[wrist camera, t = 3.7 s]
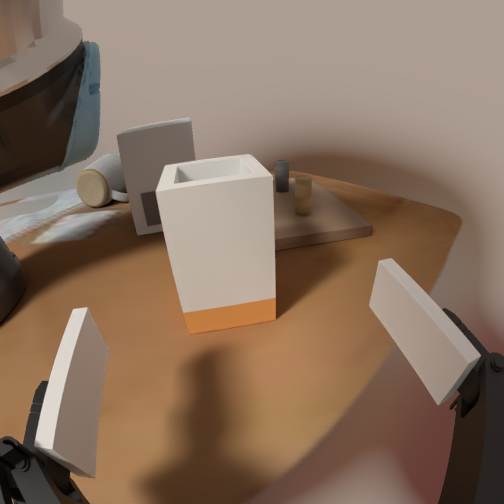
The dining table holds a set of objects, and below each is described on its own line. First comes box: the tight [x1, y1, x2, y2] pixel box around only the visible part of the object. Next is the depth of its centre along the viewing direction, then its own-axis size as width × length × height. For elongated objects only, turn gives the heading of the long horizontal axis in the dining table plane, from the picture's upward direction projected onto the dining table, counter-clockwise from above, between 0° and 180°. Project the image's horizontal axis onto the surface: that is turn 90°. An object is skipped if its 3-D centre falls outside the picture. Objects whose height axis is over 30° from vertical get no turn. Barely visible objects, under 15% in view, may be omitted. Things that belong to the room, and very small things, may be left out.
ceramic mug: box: [76, 153, 129, 207], centre depth 43 cm, size 11×8×8 cm
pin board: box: [273, 160, 372, 250], centre depth 35 cm, size 12×18×5 cm, turn 11°
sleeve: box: [156, 154, 276, 334], centre depth 19 cm, size 6×6×10 cm
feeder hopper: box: [117, 117, 196, 236], centre depth 33 cm, size 8×8×12 cm
